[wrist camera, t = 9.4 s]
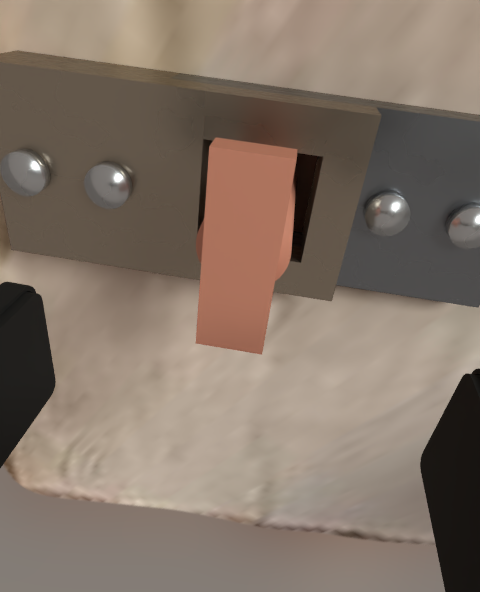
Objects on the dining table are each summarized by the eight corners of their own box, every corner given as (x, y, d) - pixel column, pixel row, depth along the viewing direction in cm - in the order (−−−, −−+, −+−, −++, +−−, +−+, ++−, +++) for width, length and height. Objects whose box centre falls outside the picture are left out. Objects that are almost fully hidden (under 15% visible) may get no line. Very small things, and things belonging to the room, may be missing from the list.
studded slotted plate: (546, 124, 18) (593, 149, 15) (469, 290, 23) (493, 335, 20) (17, 50, 19) (-37, 59, 16) (43, 223, 24) (4, 255, 21)
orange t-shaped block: (311, 104, 19) (311, 161, 12) (283, 252, 23) (273, 356, 16) (235, 93, 19) (194, 144, 12) (221, 242, 23) (184, 341, 16)
